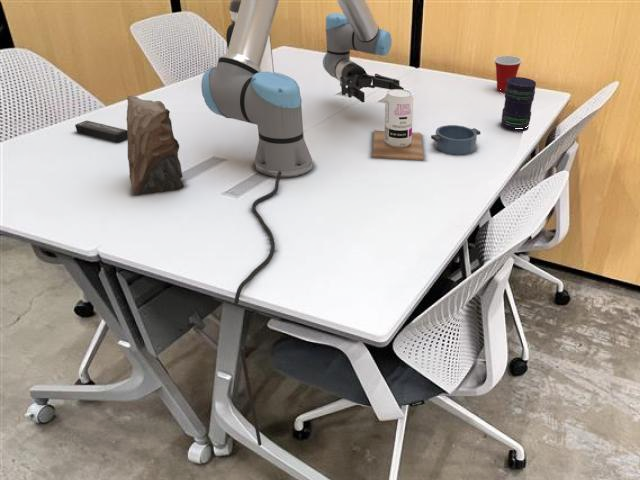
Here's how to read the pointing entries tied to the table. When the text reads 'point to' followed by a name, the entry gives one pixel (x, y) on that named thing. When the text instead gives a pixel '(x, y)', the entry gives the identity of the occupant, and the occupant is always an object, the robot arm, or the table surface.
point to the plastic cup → (506, 70)
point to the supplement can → (398, 118)
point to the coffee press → (267, 57)
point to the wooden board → (386, 151)
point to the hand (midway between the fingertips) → (383, 95)
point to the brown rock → (151, 148)
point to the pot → (455, 139)
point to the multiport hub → (102, 131)
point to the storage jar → (518, 103)
